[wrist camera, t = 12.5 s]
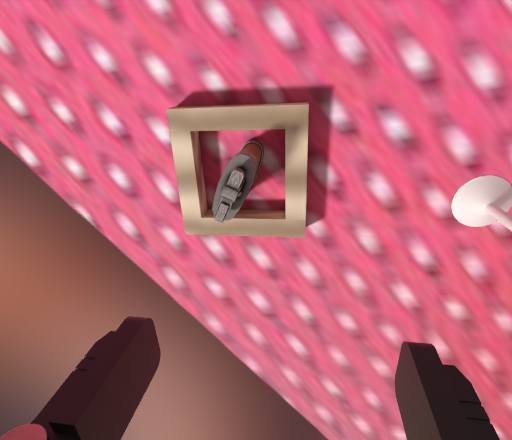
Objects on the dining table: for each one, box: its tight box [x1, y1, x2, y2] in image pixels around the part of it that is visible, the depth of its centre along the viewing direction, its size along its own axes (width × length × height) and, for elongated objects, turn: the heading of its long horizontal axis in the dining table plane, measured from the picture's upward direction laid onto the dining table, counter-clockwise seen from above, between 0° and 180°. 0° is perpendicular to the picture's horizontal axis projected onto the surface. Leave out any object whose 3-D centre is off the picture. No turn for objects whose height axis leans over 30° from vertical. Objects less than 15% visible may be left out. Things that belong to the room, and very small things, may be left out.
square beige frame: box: [166, 102, 309, 238], centre depth 39 cm, size 16×16×3 cm
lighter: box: [212, 140, 264, 223], centre depth 36 cm, size 8×3×10 cm, turn 157°
